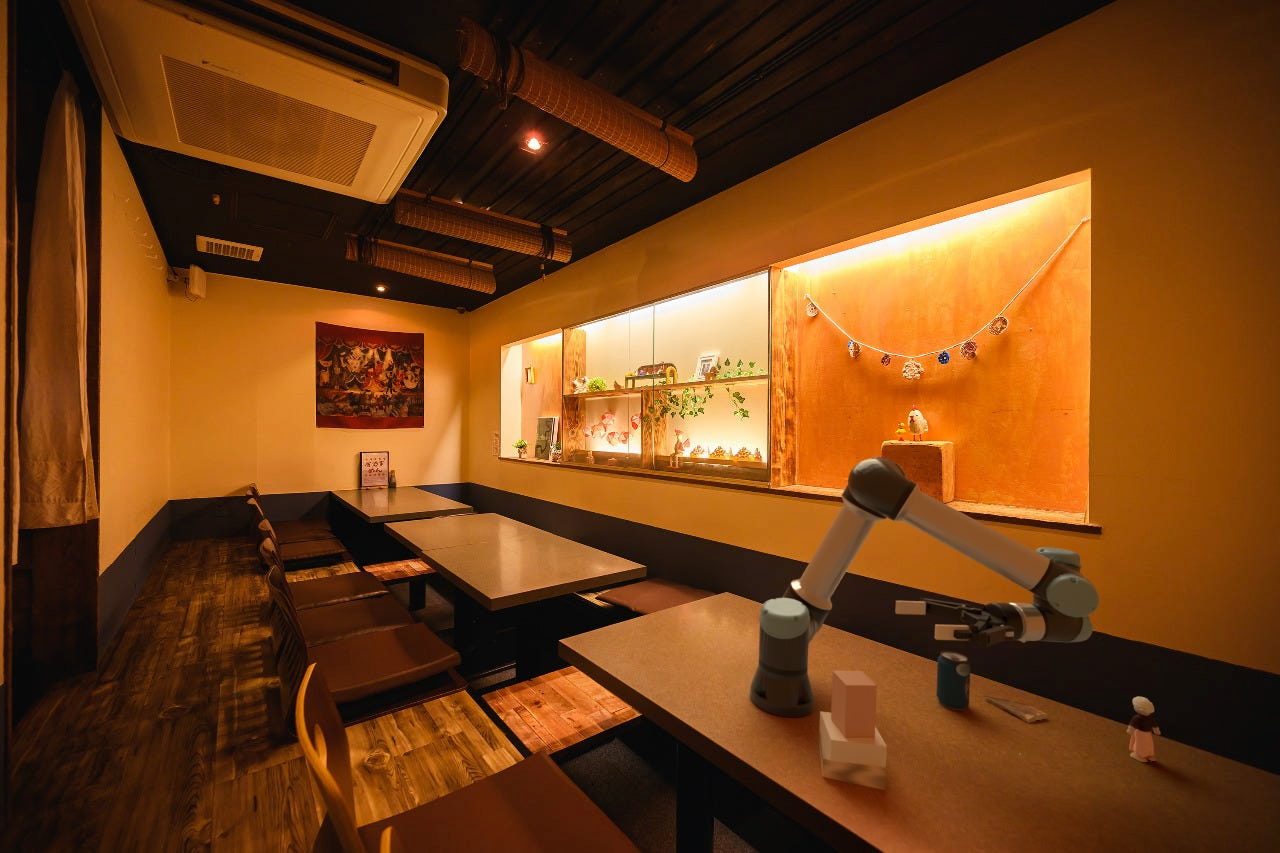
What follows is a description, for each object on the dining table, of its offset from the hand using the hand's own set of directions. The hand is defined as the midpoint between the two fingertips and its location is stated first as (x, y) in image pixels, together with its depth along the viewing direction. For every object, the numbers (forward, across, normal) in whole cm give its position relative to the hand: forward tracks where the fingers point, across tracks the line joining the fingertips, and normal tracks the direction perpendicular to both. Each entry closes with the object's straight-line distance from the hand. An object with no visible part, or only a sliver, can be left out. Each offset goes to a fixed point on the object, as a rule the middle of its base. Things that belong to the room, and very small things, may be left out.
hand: (914, 618), depth 106 cm
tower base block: (+15, -4, -28) cm, 32 cm away
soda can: (-23, +18, -28) cm, 40 cm away
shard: (-36, +14, -28) cm, 48 cm away
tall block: (+15, -5, -20) cm, 26 cm away
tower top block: (+15, -4, -24) cm, 29 cm away
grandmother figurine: (-49, -3, -27) cm, 56 cm away
